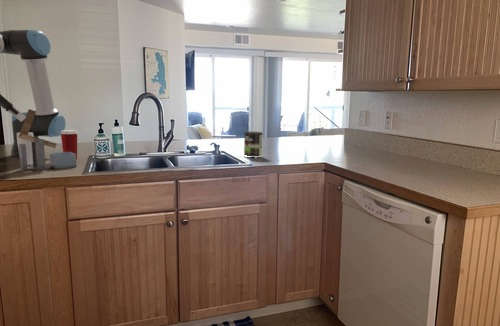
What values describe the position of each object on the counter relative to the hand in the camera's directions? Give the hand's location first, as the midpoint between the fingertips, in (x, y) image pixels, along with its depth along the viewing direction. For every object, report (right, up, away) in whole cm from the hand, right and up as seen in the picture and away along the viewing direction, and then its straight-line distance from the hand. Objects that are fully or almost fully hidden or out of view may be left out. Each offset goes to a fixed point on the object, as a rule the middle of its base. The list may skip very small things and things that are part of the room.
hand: (23, 119), depth 160 cm
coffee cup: (+4, -17, +33) cm, 37 cm away
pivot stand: (+3, -21, +7) cm, 23 cm away
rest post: (-2, -22, +3) cm, 22 cm away
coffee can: (+98, -15, +55) cm, 114 cm away
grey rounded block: (+10, -20, +14) cm, 27 cm away
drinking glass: (-8, -20, +17) cm, 27 cm away
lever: (+3, -9, +5) cm, 11 cm away
